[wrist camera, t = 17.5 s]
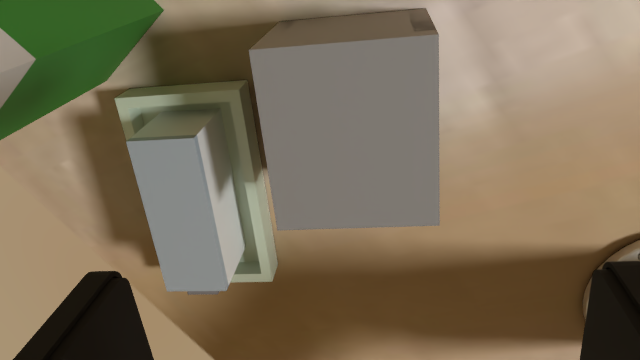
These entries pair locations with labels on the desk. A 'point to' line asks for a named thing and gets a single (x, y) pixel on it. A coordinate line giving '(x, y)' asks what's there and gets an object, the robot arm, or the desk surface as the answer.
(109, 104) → the desk surface
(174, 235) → the pale grey block
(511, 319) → the desk surface
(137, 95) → the tray
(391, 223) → the grey rectangular box
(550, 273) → the desk surface
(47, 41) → the hardback book
